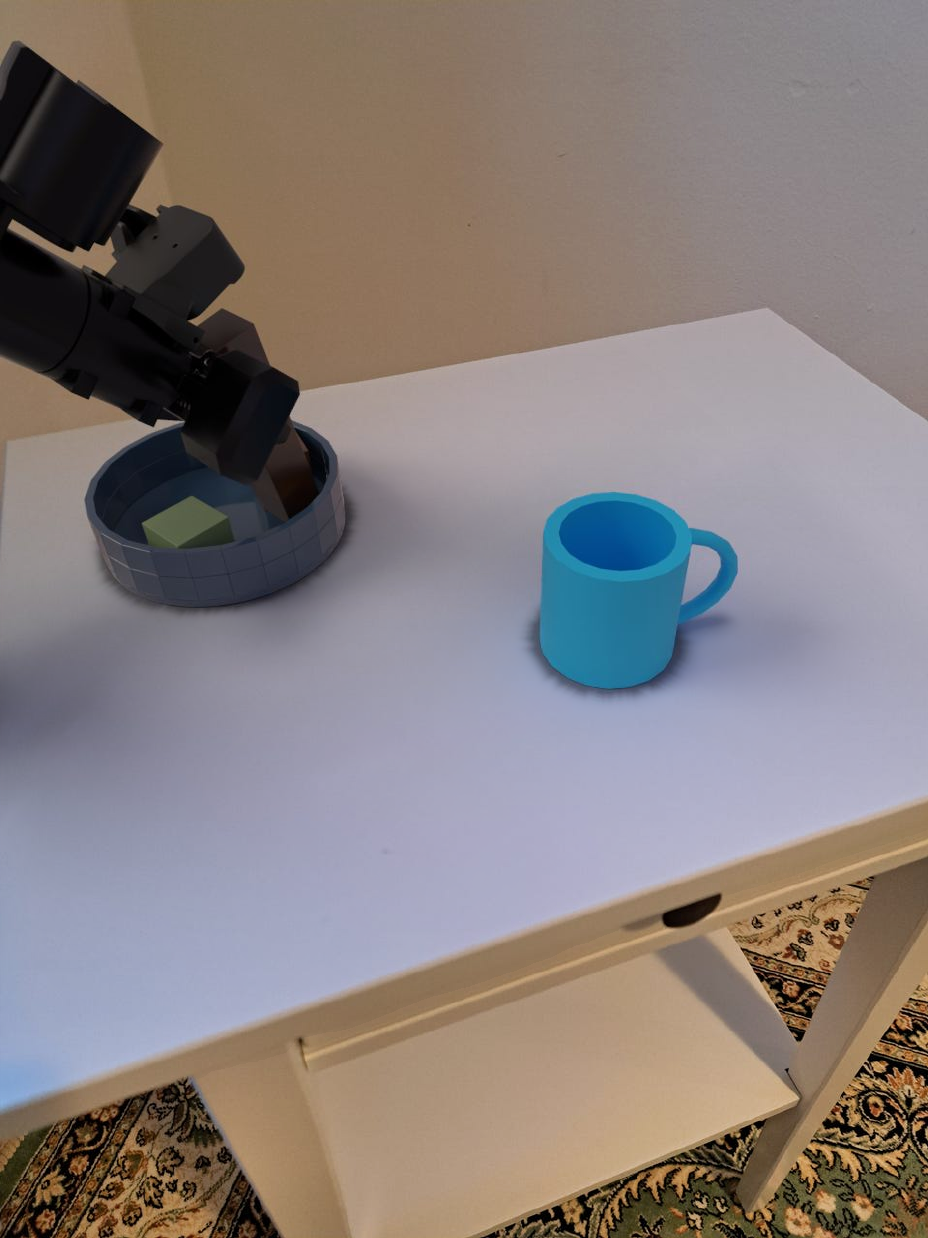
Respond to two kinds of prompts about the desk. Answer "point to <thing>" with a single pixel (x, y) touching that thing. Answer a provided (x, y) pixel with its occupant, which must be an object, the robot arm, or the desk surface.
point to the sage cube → (188, 526)
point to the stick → (287, 469)
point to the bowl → (169, 475)
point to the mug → (620, 587)
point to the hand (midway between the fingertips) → (271, 426)
